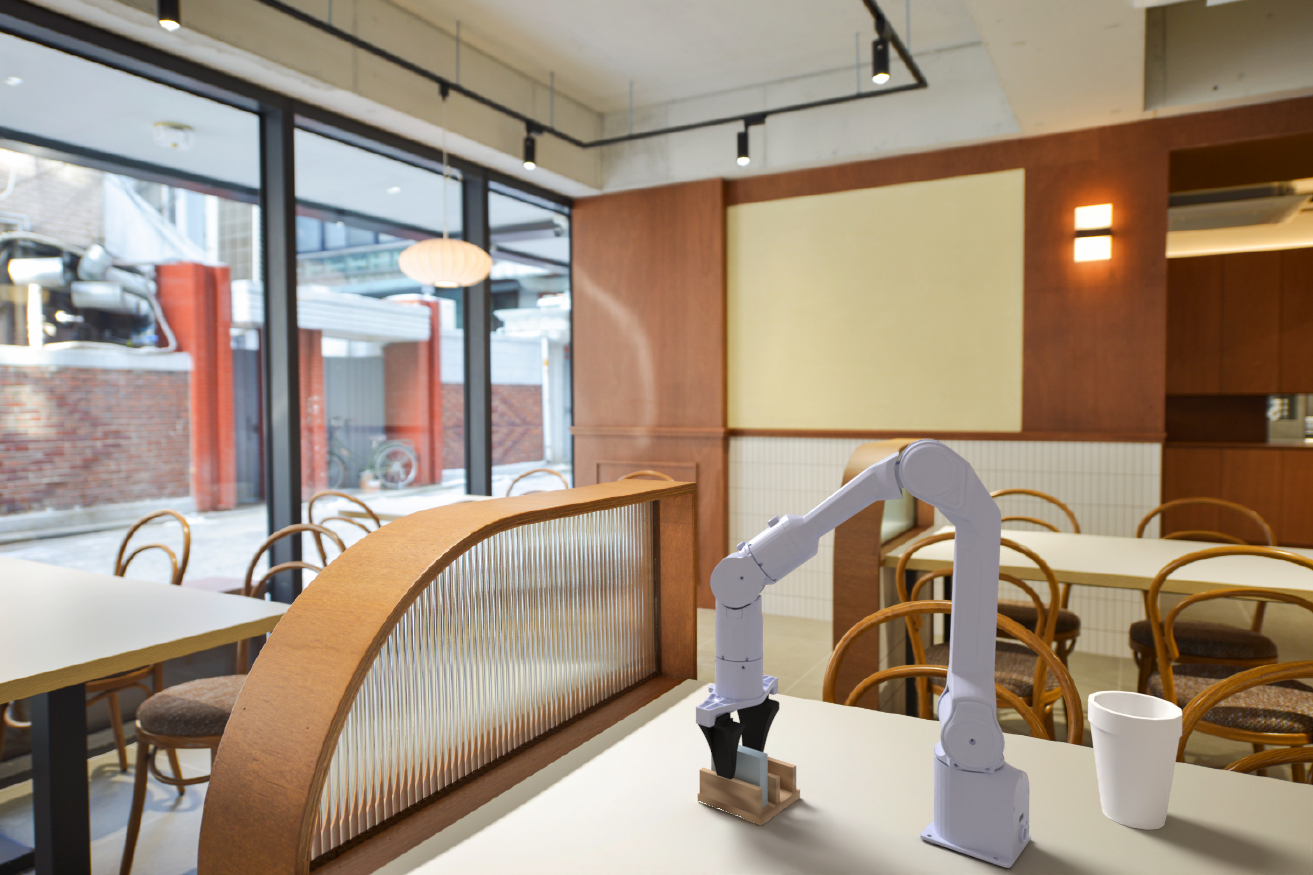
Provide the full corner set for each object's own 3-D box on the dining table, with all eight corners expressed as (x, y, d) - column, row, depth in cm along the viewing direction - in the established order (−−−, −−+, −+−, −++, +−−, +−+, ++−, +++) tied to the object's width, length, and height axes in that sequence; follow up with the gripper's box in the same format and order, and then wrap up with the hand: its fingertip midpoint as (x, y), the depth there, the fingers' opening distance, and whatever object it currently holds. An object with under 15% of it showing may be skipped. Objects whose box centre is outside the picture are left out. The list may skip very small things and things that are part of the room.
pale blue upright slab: (767, 804, 94) (767, 753, 94) (760, 809, 93) (760, 758, 93) (719, 786, 99) (718, 738, 99) (711, 791, 97) (711, 742, 97)
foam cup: (1068, 804, 96) (1069, 696, 96) (1125, 791, 99) (1126, 686, 99) (1141, 843, 87) (1142, 724, 87) (1201, 827, 90) (1202, 713, 90)
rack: (800, 797, 98) (800, 764, 98) (760, 825, 91) (760, 790, 91) (738, 776, 104) (738, 745, 104) (697, 801, 97) (697, 768, 97)
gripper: (744, 635, 104) (745, 740, 104) (674, 662, 92) (675, 779, 93) (792, 645, 99) (792, 754, 99) (724, 675, 88) (725, 797, 88)
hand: (739, 767), depth 96 cm, fingers open, 5 cm apart
